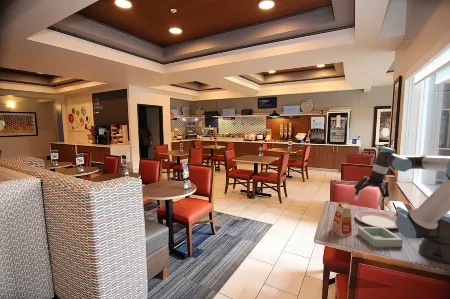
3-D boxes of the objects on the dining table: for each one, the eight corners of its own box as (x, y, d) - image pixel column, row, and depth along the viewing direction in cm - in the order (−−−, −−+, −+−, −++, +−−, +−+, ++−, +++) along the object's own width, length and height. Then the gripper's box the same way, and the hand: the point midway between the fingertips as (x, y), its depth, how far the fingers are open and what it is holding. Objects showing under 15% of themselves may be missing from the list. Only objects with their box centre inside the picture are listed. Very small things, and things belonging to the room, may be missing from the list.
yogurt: (395, 214, 172) (396, 206, 172) (397, 214, 172) (398, 206, 172) (407, 221, 160) (408, 212, 160) (409, 221, 160) (410, 212, 160)
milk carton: (341, 236, 139) (343, 204, 137) (330, 229, 148) (332, 199, 146) (353, 234, 142) (355, 203, 139) (342, 227, 150) (343, 198, 148)
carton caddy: (401, 247, 126) (402, 239, 126) (374, 247, 126) (374, 239, 126) (382, 233, 142) (382, 226, 141) (357, 234, 142) (358, 227, 141)
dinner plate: (371, 232, 144) (371, 227, 144) (347, 215, 171) (347, 211, 171) (413, 231, 145) (414, 226, 145) (382, 214, 172) (382, 210, 172)
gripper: (397, 174, 141) (384, 204, 147) (355, 165, 144) (344, 195, 150) (404, 178, 134) (390, 210, 140) (360, 168, 137) (348, 200, 143)
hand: (366, 202), depth 145 cm, fingers open, 13 cm apart
